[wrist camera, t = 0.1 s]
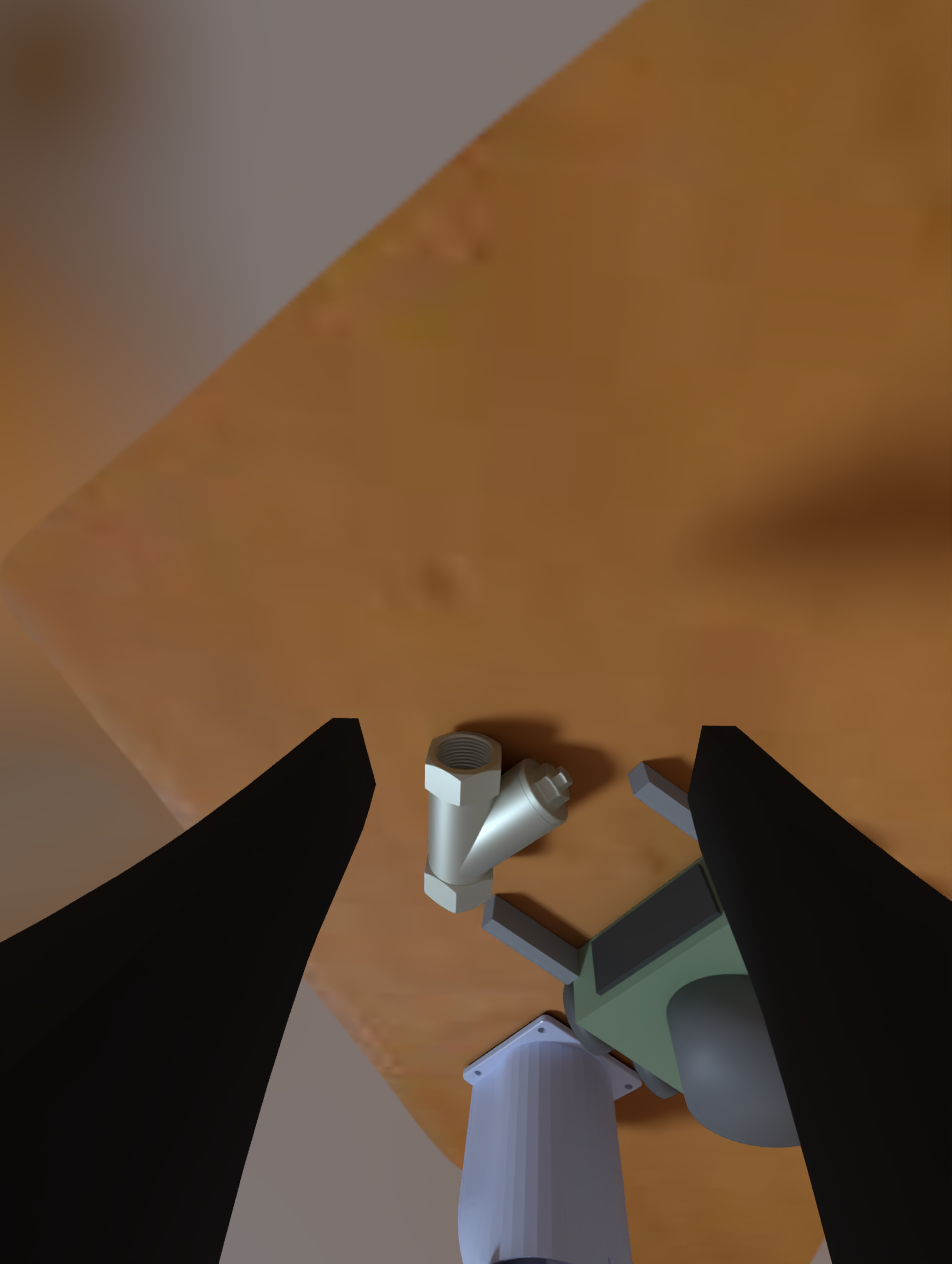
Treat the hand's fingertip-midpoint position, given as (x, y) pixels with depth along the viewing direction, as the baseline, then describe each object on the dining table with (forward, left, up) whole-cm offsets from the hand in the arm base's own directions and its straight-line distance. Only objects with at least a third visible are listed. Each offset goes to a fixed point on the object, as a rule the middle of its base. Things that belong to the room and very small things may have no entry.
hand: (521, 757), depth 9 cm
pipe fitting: (-9, -5, -11) cm, 15 cm away
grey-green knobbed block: (-9, -16, -11) cm, 21 cm away
